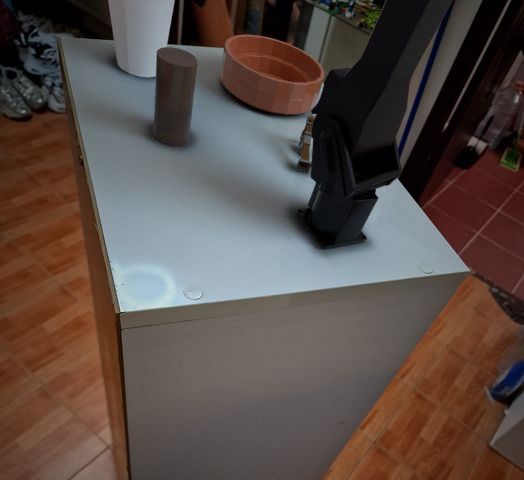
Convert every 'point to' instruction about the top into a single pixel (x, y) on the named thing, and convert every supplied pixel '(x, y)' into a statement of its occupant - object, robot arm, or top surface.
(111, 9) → the foam cup
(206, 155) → the top surface
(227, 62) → the bowl
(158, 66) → the brown cylinder
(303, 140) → the wooden post with brackets
